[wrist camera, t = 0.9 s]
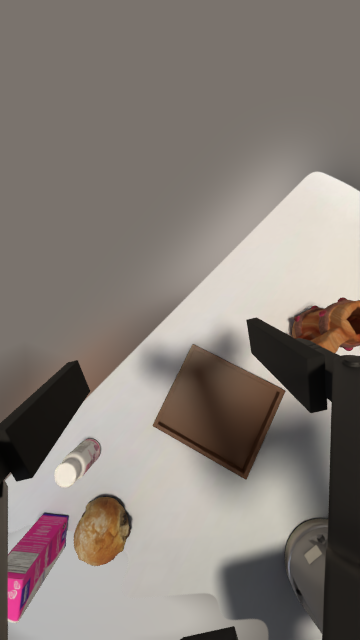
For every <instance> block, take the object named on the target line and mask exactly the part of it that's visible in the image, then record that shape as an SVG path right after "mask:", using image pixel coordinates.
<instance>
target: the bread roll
mask: <svg viewBox="0 0 360 640" xmlns="http://www.w3.org/2000/svg"><path fill="white" fill-rule="evenodd" d="M86 509H87V510H86V511H85V512H84V514H83V515H82V518H81V520H80V521H79V523H78V525H77V528H76V530H75V534H74V548H75V551H76V553H77V555H78V558H79V560H82V561H84V562H86V563H87V564H90V565H92V566H99V565H103V564H106V563H108V562H110V561H111V560H113V559H114V558H115V556H116V555H117V554H118V553H119V552H122V551H123V549H124V544H125V542H126V539H127V537H129V535H130V527H129V525H128V516H127V514H126V513H125V510H124V508H123V507H122V506H121V505H120V504H119V503H118V501H117V500H116V499H113V498H110V497H100V498H97V499H95V500H94V501H92V502H91V501H90V502H89V503H88V504H87V506H86Z"/></svg>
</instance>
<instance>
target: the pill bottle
mask: <svg viewBox="0 0 360 640" xmlns="http://www.w3.org/2000/svg"><path fill="white" fill-rule="evenodd" d="M99 455H100V445H99V443H98V442H97V441H96V440H94V439H86V440H85V441H83V442H82V443H81V444H80V445H78V446H77V447H76V448H75V449H74V450H73V451H72V452H70V453H69V454H68V455H67V456H66V457H65V458H64V460H63V462H62V463H61V464H60V465H59V466H58V467H57V469H56V471H55V481H56V483H57V484H58V485H59V486H60V487H63V488H67V487H70V486H71V485H72V484H73V483H74V482H75V481H76V480H79V479H80V478H81V477H82V476H83V475H84V474H85V473H86V471H87V470H88V469H89V468H90V467H91V466H92V464H93V463H94V462H95V461H96V460H97V458H98V457H99Z"/></svg>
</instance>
